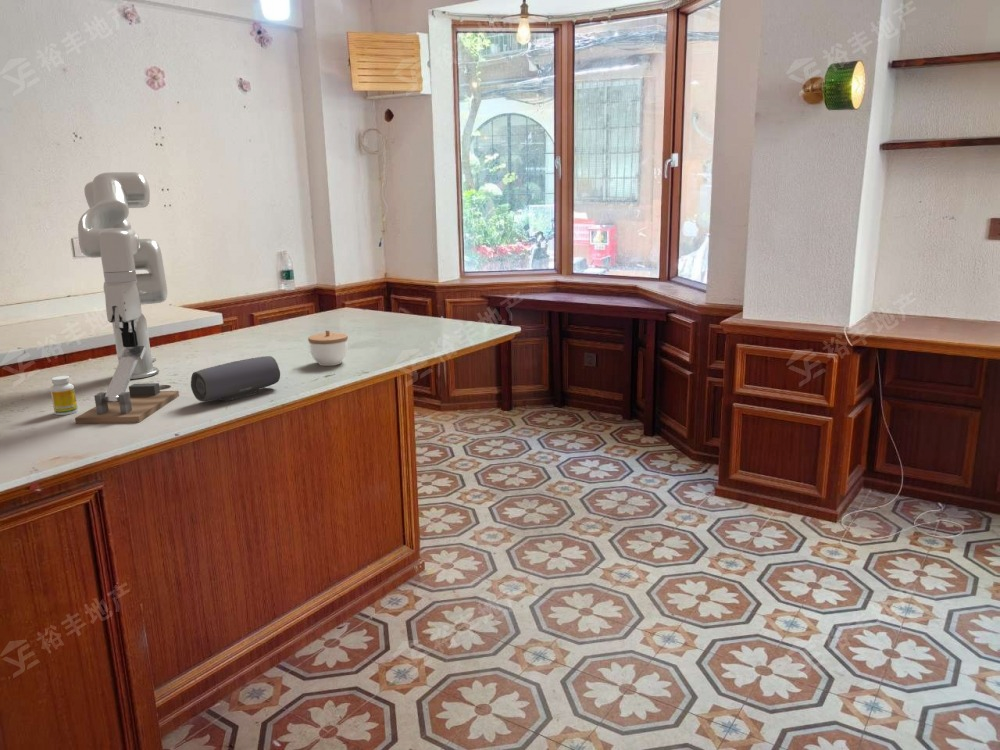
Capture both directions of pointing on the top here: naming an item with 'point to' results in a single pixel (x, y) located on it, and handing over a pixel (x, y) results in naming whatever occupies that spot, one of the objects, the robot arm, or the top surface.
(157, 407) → the walnut board
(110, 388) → the lever
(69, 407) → the supplement bottle
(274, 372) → the bluetooth speaker
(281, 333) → the top surface
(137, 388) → the catch block
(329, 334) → the lidded bowl
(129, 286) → the robot arm
